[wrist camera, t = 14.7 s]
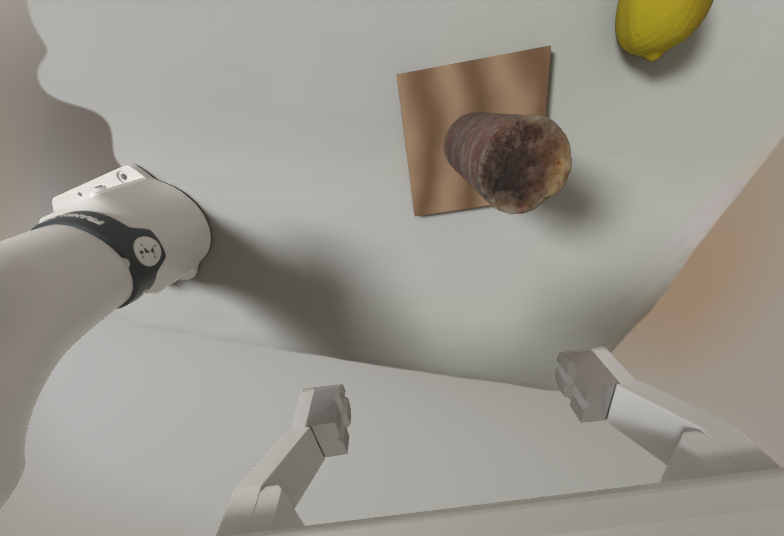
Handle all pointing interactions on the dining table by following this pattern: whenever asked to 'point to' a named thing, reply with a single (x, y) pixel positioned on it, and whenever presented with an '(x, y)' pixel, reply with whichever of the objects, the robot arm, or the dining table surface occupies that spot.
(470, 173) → the wooden log
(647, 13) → the lemon
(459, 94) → the walnut board
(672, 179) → the dining table surface
